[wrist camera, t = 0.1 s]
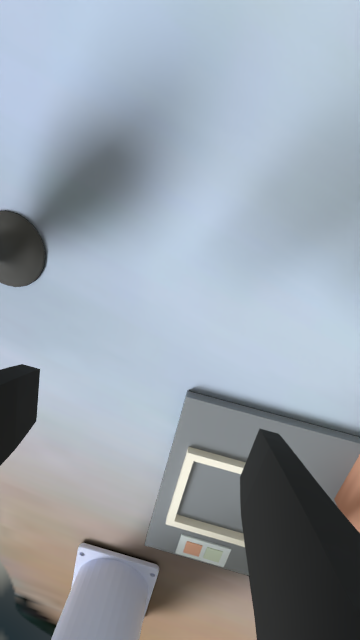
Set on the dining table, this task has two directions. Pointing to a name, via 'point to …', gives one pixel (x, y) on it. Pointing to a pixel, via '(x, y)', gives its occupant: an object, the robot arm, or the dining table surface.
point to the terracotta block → (351, 496)
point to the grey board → (230, 476)
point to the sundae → (19, 250)
